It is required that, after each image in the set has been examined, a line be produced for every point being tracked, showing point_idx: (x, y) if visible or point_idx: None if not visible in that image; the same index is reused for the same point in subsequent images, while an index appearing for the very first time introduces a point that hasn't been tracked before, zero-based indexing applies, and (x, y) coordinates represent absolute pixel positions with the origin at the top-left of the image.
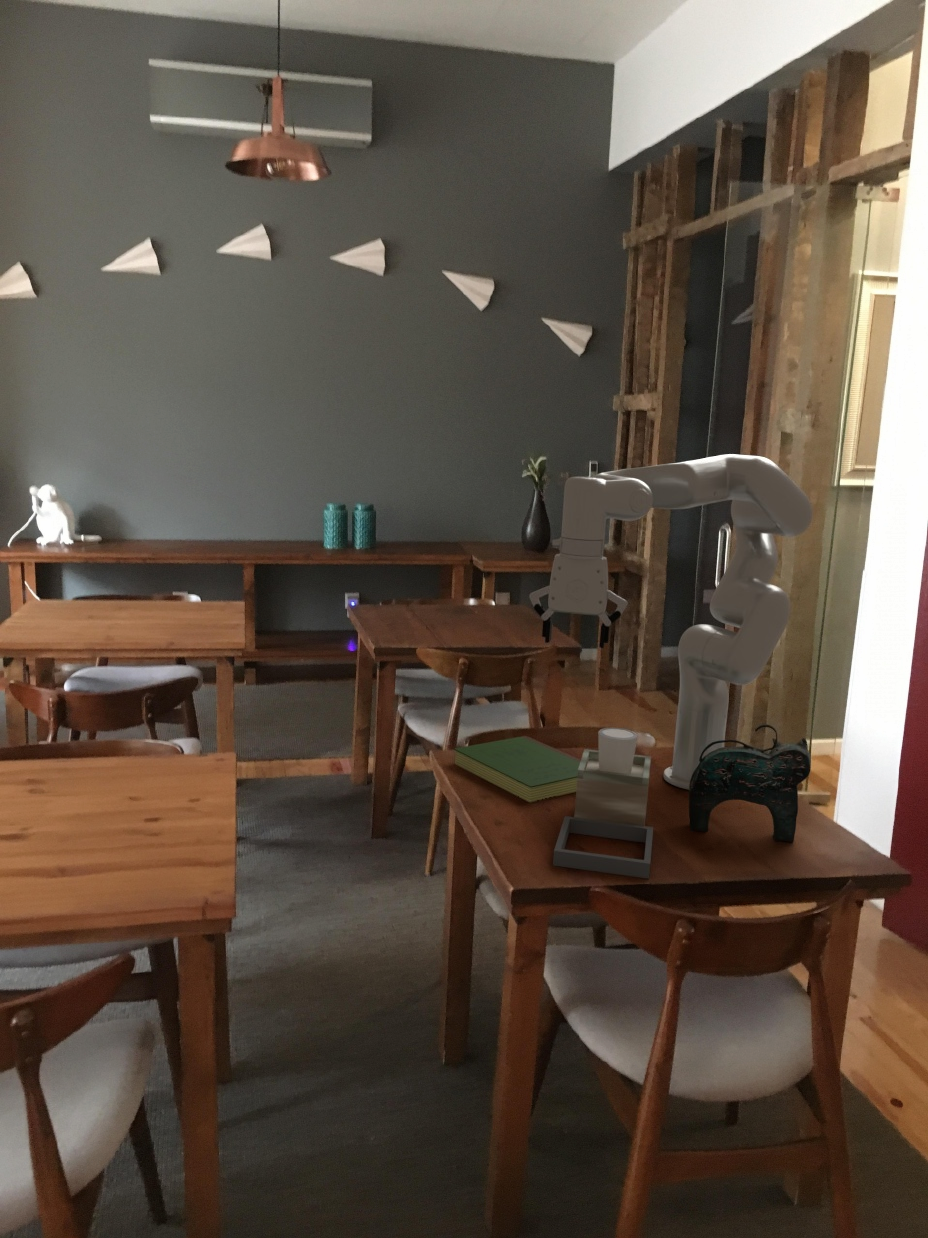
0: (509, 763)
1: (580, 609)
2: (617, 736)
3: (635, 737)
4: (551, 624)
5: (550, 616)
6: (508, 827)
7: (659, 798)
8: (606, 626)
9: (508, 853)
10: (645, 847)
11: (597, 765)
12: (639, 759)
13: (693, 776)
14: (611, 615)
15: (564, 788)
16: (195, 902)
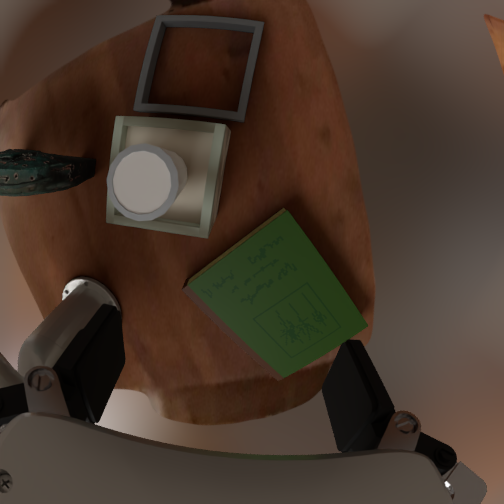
0: (309, 292)
1: (188, 477)
2: (142, 162)
3: (111, 166)
4: (344, 423)
5: (366, 448)
6: (313, 122)
7: (122, 250)
8: (59, 376)
9: (313, 53)
10: (152, 50)
11: (188, 195)
12: (123, 215)
13: (62, 177)
14: (15, 412)
15: (236, 245)
16: (494, 23)
